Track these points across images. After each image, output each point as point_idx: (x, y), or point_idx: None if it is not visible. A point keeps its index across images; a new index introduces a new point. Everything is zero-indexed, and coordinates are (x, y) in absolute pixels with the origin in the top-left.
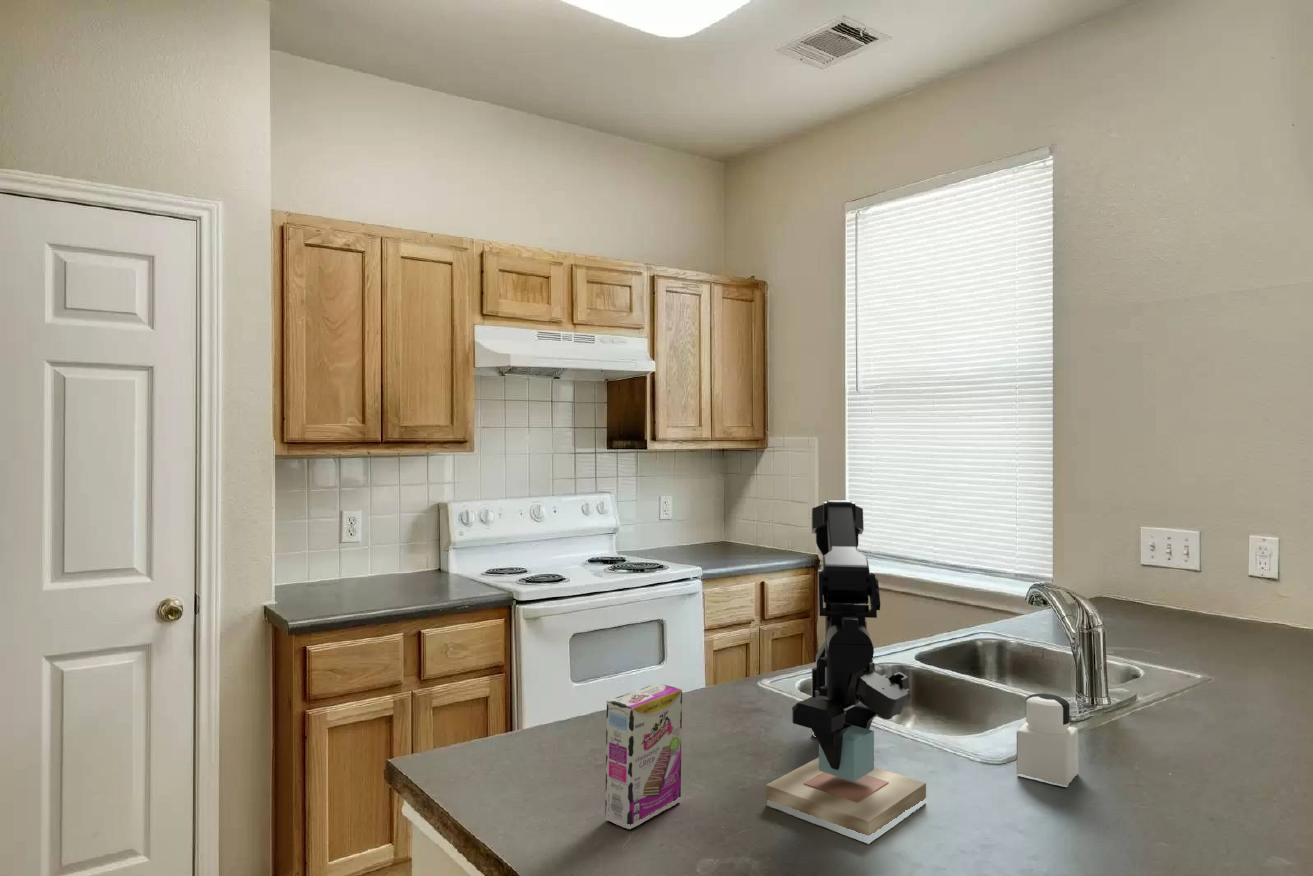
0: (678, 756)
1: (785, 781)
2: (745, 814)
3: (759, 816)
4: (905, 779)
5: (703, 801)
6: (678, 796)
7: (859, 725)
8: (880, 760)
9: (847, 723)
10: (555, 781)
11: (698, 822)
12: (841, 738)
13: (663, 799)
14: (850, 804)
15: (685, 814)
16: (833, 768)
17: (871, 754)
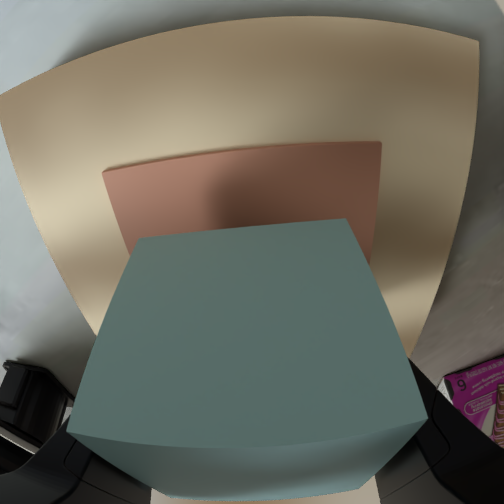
0: None
1: None
2: (440, 319)
3: (437, 303)
4: (29, 158)
5: (423, 371)
6: (452, 384)
7: (112, 474)
8: (7, 305)
9: (146, 486)
10: None
11: (487, 332)
12: (442, 450)
13: (485, 379)
14: (407, 155)
15: (470, 354)
16: None
17: (139, 299)
